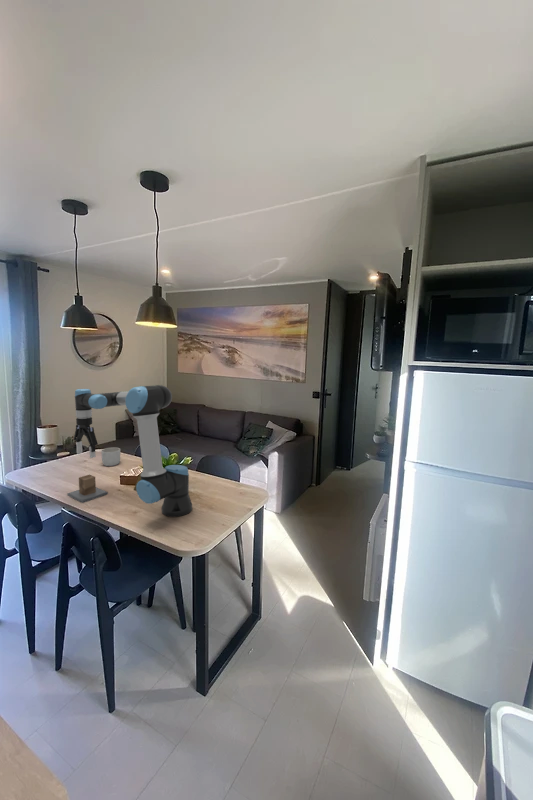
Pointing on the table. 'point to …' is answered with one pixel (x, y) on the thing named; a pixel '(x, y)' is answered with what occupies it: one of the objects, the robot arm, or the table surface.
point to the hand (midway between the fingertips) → (86, 455)
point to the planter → (110, 456)
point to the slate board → (83, 498)
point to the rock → (137, 481)
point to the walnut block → (87, 485)
